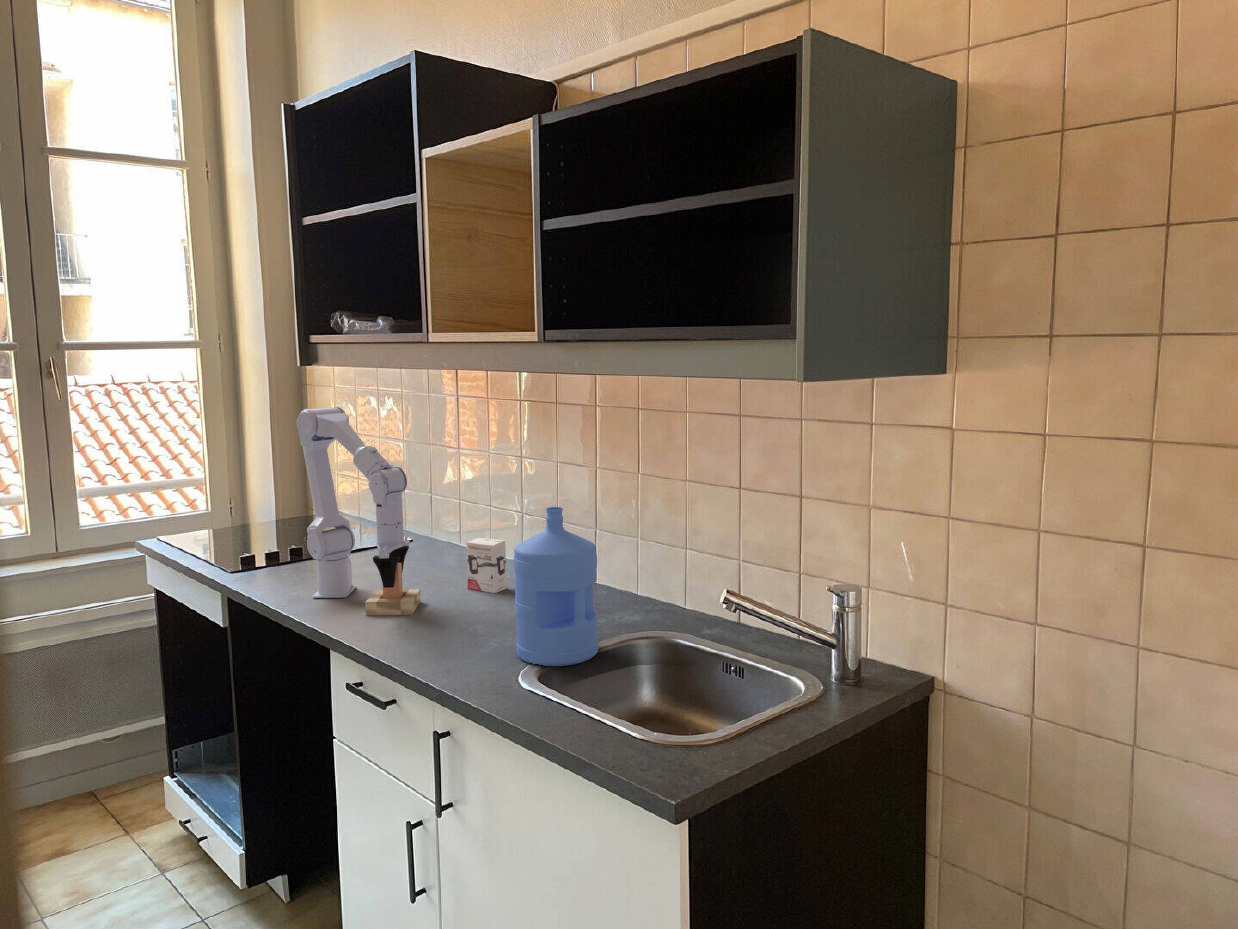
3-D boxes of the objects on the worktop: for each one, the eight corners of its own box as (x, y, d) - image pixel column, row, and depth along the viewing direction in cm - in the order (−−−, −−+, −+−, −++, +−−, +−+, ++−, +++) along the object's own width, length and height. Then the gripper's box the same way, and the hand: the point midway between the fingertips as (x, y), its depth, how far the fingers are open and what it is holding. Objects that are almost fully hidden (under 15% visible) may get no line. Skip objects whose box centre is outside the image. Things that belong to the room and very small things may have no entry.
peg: (387, 606, 209) (385, 563, 207) (403, 606, 209) (401, 562, 207) (383, 611, 205) (381, 567, 204) (400, 610, 205) (398, 566, 204)
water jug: (499, 654, 176) (494, 509, 172) (561, 635, 187) (558, 498, 183) (552, 674, 165) (549, 520, 161) (615, 653, 176) (613, 507, 172)
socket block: (376, 602, 212) (376, 589, 211) (420, 601, 212) (420, 588, 212) (365, 615, 202) (365, 602, 202) (412, 614, 202) (411, 601, 202)
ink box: (466, 589, 222) (465, 541, 221) (479, 584, 226) (478, 537, 225) (495, 593, 218) (493, 544, 216) (508, 588, 222) (506, 540, 221)
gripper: (401, 529, 197) (404, 591, 199) (414, 516, 212) (417, 574, 213) (367, 529, 197) (371, 591, 199) (383, 516, 211) (386, 574, 213)
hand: (392, 582), depth 206 cm, fingers open, 7 cm apart
